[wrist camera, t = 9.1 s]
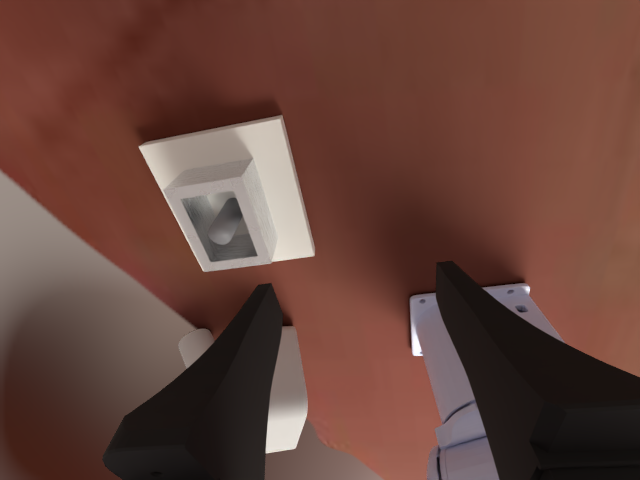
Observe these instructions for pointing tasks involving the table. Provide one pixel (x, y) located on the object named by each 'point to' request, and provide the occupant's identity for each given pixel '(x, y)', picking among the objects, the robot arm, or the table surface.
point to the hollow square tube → (198, 216)
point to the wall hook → (285, 389)
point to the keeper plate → (227, 146)
